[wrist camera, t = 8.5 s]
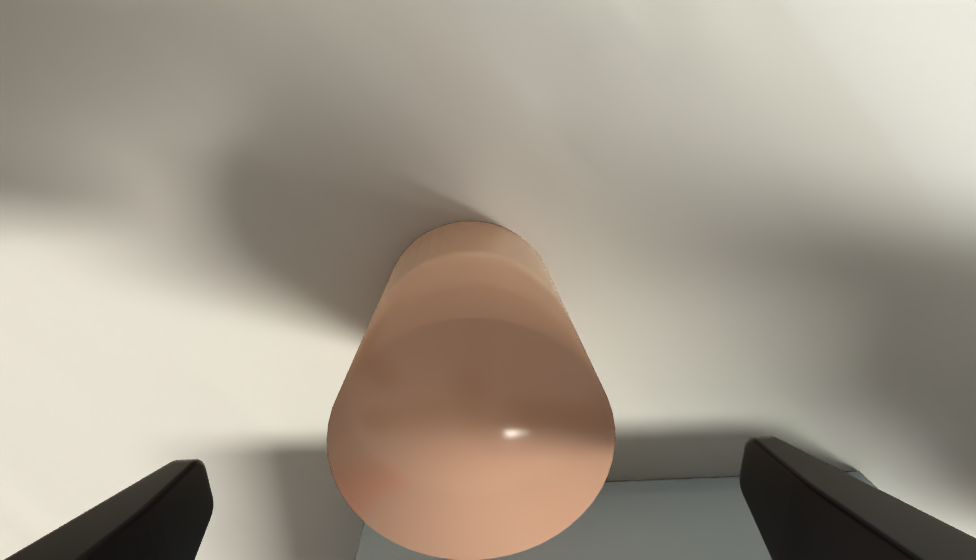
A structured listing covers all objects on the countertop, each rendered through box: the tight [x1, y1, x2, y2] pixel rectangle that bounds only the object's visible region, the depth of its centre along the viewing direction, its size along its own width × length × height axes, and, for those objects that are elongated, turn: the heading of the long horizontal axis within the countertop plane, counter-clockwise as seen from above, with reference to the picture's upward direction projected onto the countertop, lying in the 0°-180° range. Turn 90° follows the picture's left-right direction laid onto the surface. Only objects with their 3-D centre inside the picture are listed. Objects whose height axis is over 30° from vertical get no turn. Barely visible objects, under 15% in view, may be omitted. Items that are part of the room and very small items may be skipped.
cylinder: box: [327, 221, 615, 560], centre depth 12 cm, size 5×5×7 cm
